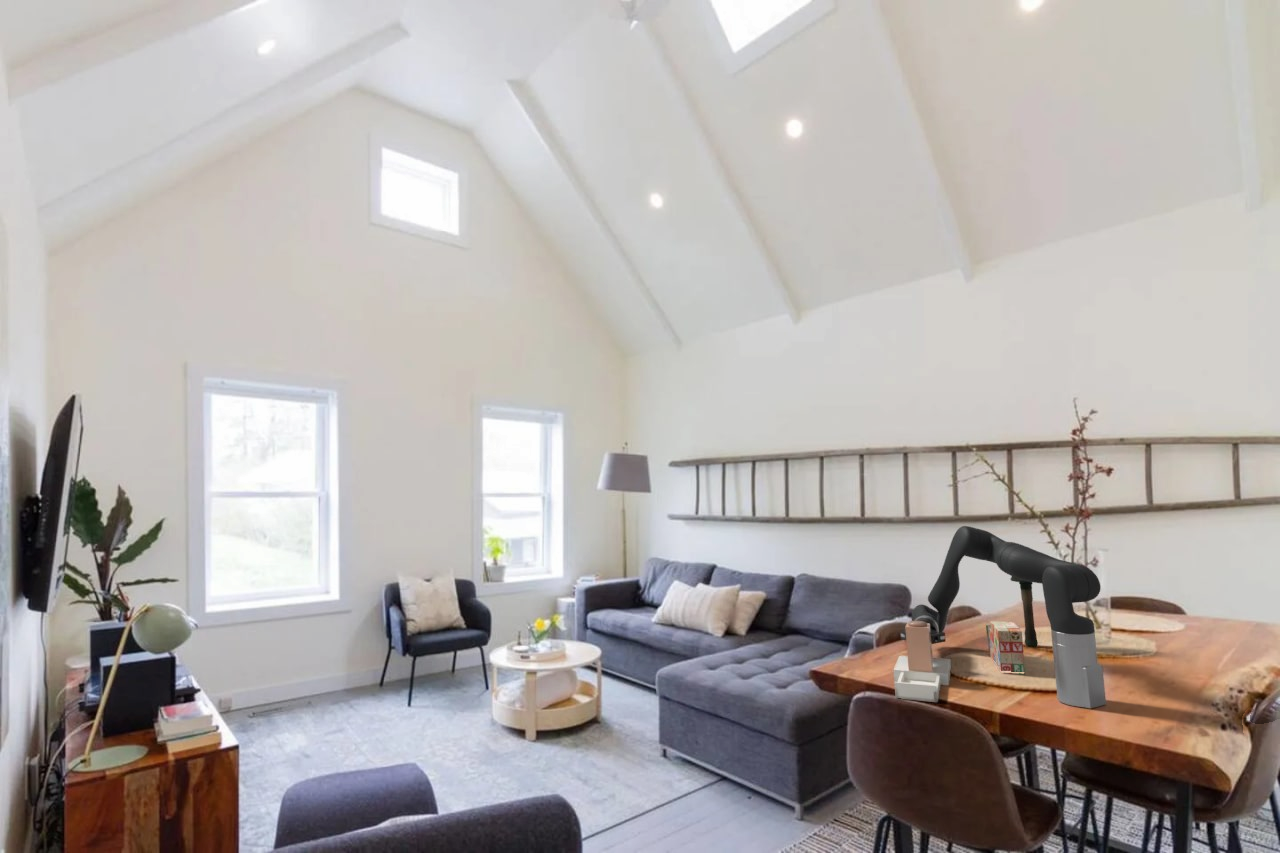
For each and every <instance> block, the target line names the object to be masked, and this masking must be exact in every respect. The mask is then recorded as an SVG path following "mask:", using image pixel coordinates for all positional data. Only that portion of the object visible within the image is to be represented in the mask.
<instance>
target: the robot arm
mask: <svg viewBox="0 0 1280 853" xmlns="http://www.w3.org/2000/svg"><path fill="white" fill-rule="evenodd" d="M964 557H967V558H968V557H969V558H973V559H975V560H976V559H977V560H979V561H980V560H981V561H986V562H991V563H994V564H996V566H997V567H998V568H999V569H1000V570H1001V571H1002V572H1004V573H1005V574H1007V575H1009V576H1013V577H1015V578H1017V579H1020V580H1024V581H1029V582H1032V583H1034V584H1035V583H1036V584H1042V592H1043V597H1044V604H1045V611H1046V616H1047V618H1048V621H1049V624H1050V633H1051V643H1052V655H1053V663H1054V665H1053V666H1054V675H1055V677H1054V678H1055V686H1056V687H1055V688H1056V694H1057V696H1056V697H1057V700H1058V701H1059V702H1060V703H1063V704H1065V705H1068V706H1073V707H1078V708H1081V707H1082V708H1086V709H1094V708H1098V707H1101V706H1105V705H1107V699H1106V698H1107V697H1106V689H1105V680H1104V679H1105V678H1104V668H1103V665H1102V664H1101V663H1099V661H1098V653H1097V652H1098V651H1097V642H1096V641H1097V639H1096V632H1095V624H1094V623H1095V622H1094V621H1093V620H1092V619H1091V618H1089V617H1086V616H1082V615H1080V614H1078V613H1076V612H1075V610H1074V604H1075V603H1076V604H1077V603H1085V602H1086V603H1087V602H1090V601H1092V600H1095V599H1096V598H1097V597H1098V596H1099V594H1100V592H1101V590H1102V589H1101V582H1100V580H1099V578H1098V576H1097V574H1096V573H1095V572H1094V570H1092V569H1090V568H1089V567H1087V566H1085V565H1083V564H1081V563H1080V564H1079V563H1076V562H1070V561H1067V560H1064V559H1063V560H1062V559H1059V558H1056V557H1053V556H1050V555H1048V554H1046V553H1043V552H1041V551H1038V550H1035V549H1033V548H1030V547H1028V546H1026V545H1023V544H1020V543H1017V542H1014V541H1006V540H1004V539H1002V538H1000V537H998V536H997V535H995V534H994V533H991V532H990V531H987V530H984V529H981V528H977V527H972V526H966V525H962V526H960V527H959V528H958V529H957V530H956V531H955V533H954V535H953V537H952V539H951V542H950V545H949V547H948V550H947V553H946V556H945V558H944V562H943V565H942V569H941V571H940V574H939V576H938V578H937V580H936V582H935V583H934V585H933V586H932V589H931V590H930V592H929V594H928V597H927V601H928V603H929V605H931V607H933V608H934V609H933V608H931V607H929V606H928V605H926V604H917V605H916V606H915V607H914V608H913V609H912V612H911V618H910V619H911V621H924V622H927V623H930V632H931V644H932V645H934V644H940V643H945V642H947V641H946V632H944V630H945V628H946V625H947V619H948V618H947V617H948V613H949V610H950V608H951V606H952V604H953V602H954V601H955V599H956V597H957V596H958V594H959V591H960V584H961V583H960V575H959V574H960V573H959V566H960V563H961V561H962V559H963V558H964ZM1073 603H1074V604H1073ZM900 640H904V641H906V630H904V629H900Z"/></svg>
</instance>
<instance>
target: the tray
mask: <svg viewBox="0 0 1280 853" xmlns="http://www.w3.org/2000/svg"><path fill="white" fill-rule="evenodd" d="M941 686H942V685H941V682H940V675H937V676H936V681H935V682H925V681H913V680H905V679H904V672H901V673H900V676H899V679H898V681H894V693H895V694H894V695H895V699H898V698H901V699H900V700H911V701H919V702H920V701H922V702H929V703H931V702H932V703H938V702H939V697H940V692H939V691H941Z"/></svg>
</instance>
